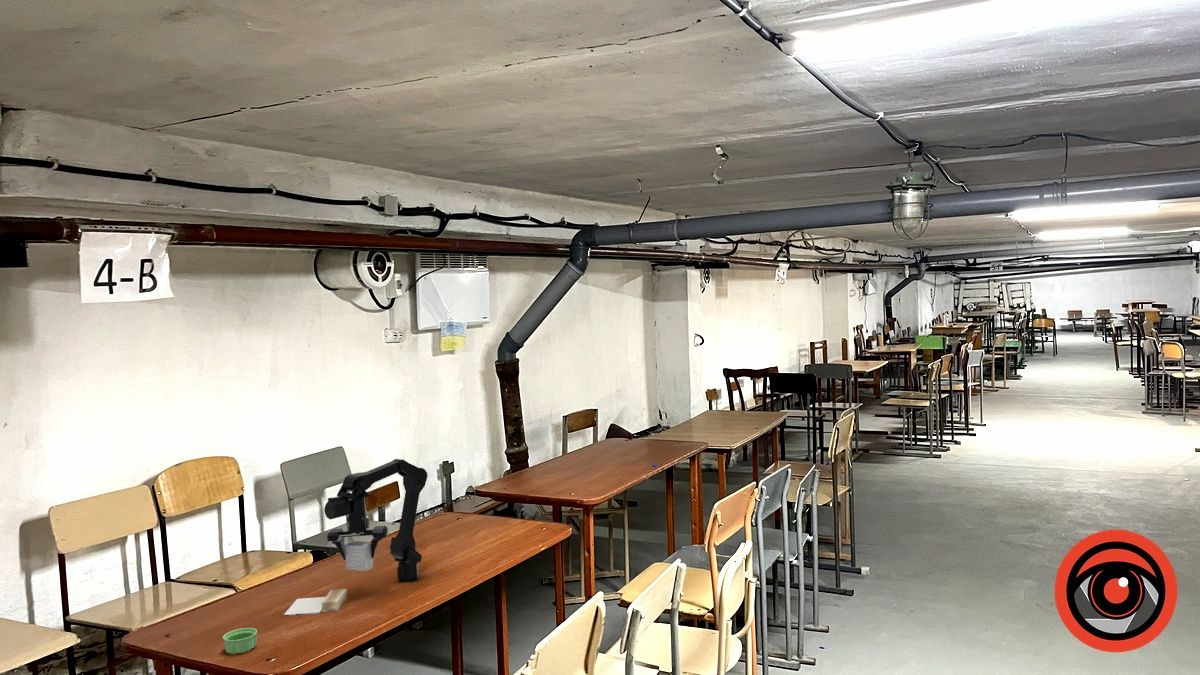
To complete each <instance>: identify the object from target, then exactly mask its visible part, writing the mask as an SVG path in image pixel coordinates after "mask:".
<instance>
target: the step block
mask: <svg viewBox="0 0 1200 675" xmlns="http://www.w3.org/2000/svg"><path fill="white" fill-rule="evenodd" d="M347 590H348V589H347V588H335V589H330V590H329V592H328V593H327V595H326V596H324V597H325V599H324V600H323V601H322V611H321V612H322V613H325V612H326V613H327V612H328V611H329V612H338V611H339V610H340V608H341V607H342V606H343V605H344V602H346V600H347V598H348V592H347Z"/></svg>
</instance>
